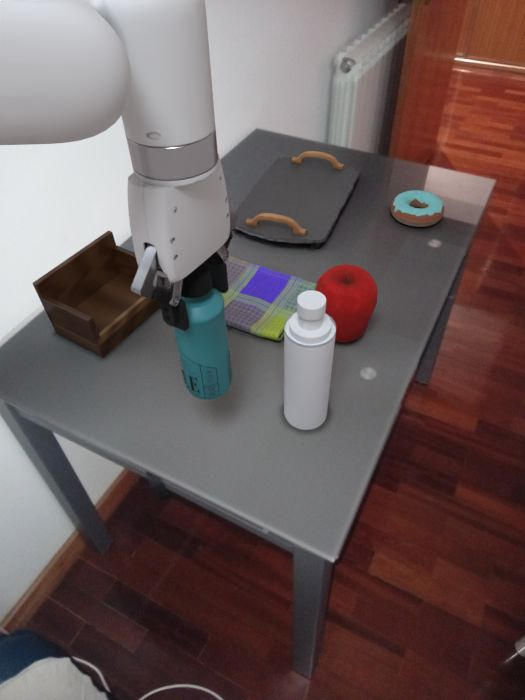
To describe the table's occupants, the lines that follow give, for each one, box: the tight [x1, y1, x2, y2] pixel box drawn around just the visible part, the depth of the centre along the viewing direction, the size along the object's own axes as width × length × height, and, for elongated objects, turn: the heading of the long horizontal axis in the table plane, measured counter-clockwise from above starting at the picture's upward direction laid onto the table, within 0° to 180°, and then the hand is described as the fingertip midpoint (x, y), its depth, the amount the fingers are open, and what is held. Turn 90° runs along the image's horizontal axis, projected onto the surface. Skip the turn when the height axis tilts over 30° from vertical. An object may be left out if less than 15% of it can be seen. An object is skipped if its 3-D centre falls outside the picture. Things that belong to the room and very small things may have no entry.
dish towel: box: [220, 254, 317, 342], centre depth 95 cm, size 18×24×3 cm
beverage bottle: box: [173, 263, 234, 401], centre depth 59 cm, size 6×7×20 cm
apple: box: [315, 263, 379, 343], centre depth 84 cm, size 11×10×14 cm
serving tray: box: [233, 150, 361, 250], centre depth 116 cm, size 39×23×6 cm, turn 159°
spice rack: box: [32, 230, 167, 359], centre depth 89 cm, size 18×12×12 cm, turn 148°
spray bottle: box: [283, 290, 336, 431], centre depth 68 cm, size 7×7×25 cm
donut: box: [390, 189, 445, 228], centre depth 112 cm, size 12×12×4 cm
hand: (196, 305), depth 55 cm, fingers closed on beverage bottle, 6 cm apart
